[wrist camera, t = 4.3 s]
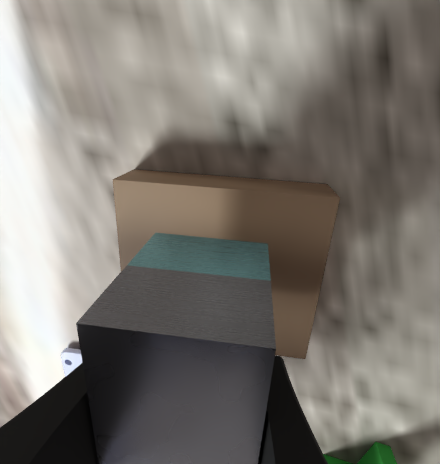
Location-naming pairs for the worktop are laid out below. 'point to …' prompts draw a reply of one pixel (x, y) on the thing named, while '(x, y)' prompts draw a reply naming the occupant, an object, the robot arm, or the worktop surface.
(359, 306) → the worktop surface
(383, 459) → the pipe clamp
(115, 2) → the worktop surface
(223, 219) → the tan flat block
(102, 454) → the block
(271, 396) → the robot arm
